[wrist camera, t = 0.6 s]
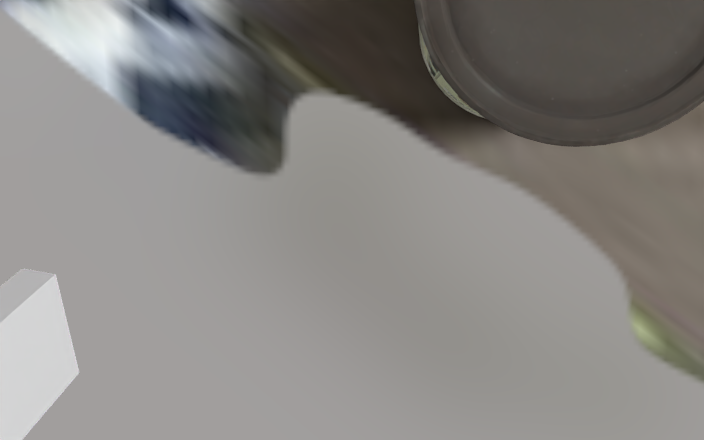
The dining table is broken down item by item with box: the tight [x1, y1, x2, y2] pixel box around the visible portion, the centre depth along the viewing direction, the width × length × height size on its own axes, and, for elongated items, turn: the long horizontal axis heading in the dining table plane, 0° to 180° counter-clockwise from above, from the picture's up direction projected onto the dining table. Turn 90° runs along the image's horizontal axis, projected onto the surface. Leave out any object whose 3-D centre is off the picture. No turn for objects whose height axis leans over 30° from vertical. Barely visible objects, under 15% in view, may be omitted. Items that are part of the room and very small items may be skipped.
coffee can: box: [414, 0, 704, 147], centre depth 23 cm, size 10×10×14 cm
